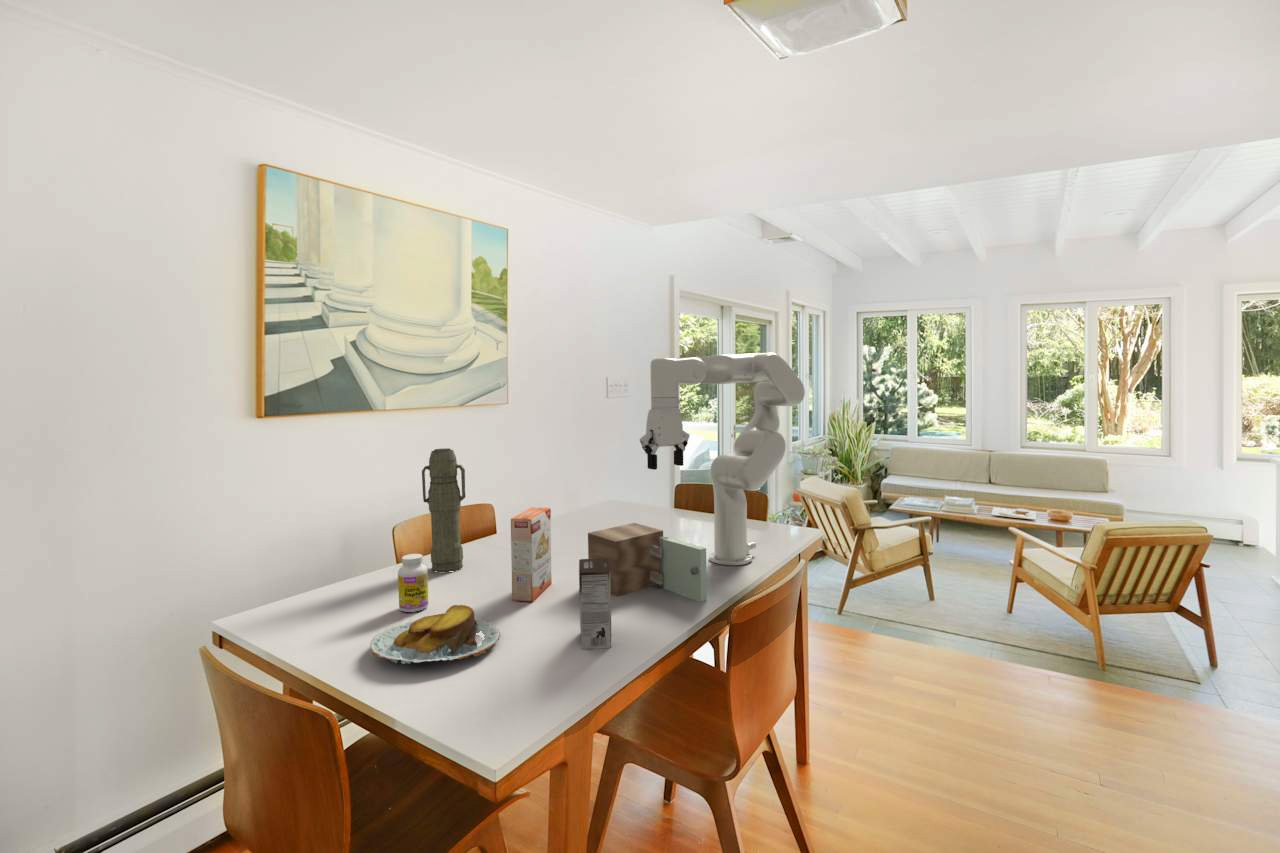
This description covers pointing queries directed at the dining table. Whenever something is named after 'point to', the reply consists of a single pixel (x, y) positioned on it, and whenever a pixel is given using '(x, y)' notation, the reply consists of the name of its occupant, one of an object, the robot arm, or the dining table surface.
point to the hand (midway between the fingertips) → (665, 467)
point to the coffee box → (595, 603)
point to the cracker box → (531, 553)
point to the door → (683, 568)
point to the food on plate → (435, 637)
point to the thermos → (444, 509)
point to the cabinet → (628, 556)
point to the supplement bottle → (413, 584)
